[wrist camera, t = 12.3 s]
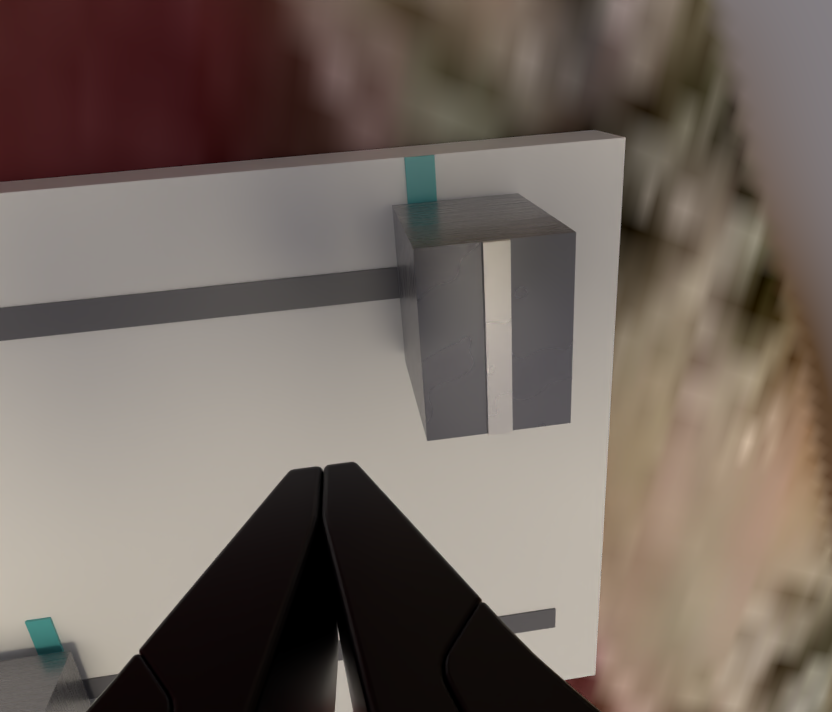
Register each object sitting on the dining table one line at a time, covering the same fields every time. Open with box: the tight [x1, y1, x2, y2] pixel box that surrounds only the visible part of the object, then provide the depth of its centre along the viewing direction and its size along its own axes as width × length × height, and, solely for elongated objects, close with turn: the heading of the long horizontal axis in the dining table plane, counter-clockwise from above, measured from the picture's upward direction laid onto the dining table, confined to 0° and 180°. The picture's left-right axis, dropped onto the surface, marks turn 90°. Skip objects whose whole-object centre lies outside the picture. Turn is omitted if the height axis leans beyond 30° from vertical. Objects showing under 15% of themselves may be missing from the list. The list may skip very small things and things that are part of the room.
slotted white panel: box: [0, 130, 626, 712], centre depth 20 cm, size 18×22×2 cm
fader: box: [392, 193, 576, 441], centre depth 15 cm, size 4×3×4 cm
